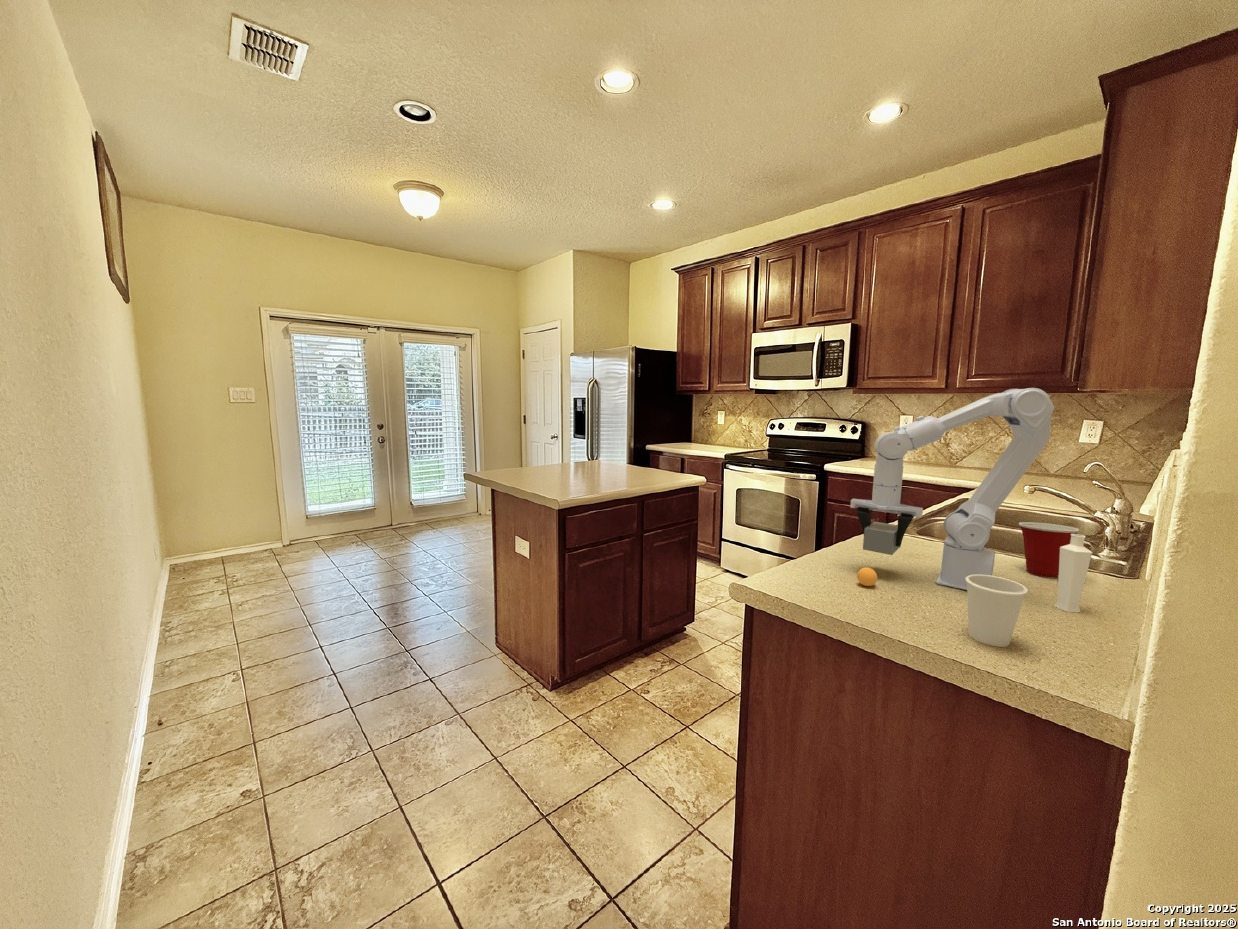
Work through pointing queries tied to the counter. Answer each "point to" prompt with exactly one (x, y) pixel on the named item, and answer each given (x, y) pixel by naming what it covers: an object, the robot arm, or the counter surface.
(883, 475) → the robot arm
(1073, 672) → the counter surface
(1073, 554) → the perfume bottle
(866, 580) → the ball
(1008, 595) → the dixie cup
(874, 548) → the gray block
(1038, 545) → the plastic cup
